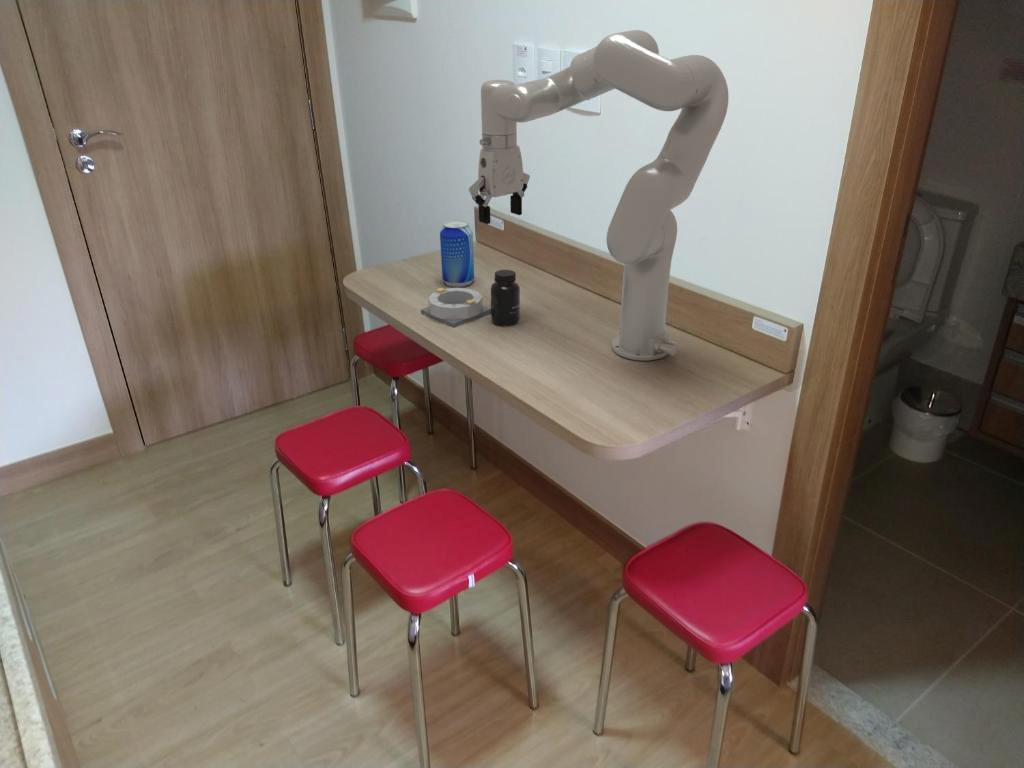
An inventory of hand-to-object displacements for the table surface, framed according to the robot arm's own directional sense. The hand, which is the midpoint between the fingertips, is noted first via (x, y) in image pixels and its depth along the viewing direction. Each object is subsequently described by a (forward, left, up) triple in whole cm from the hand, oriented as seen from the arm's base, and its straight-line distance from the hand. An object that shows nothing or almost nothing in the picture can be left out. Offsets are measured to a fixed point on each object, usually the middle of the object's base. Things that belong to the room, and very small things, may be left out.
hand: (500, 218), depth 181 cm
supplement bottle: (-4, +3, -23) cm, 24 cm away
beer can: (+23, -6, -23) cm, 33 cm away
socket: (+8, +8, -23) cm, 26 cm away
